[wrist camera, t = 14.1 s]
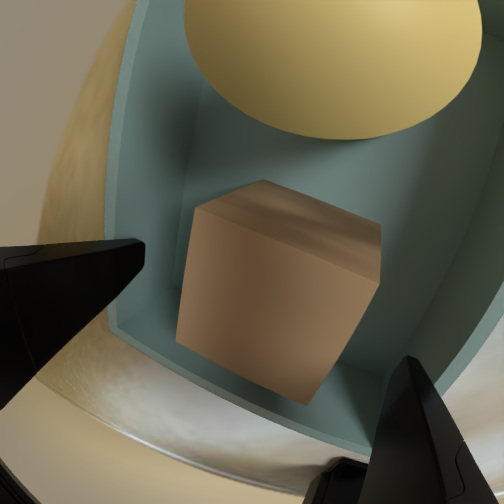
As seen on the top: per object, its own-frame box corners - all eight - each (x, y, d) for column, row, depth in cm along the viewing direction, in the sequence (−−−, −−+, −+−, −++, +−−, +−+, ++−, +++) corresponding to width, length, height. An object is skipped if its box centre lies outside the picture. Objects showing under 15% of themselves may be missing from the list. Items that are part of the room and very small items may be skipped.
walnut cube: (381, 225, 11) (379, 284, 7) (334, 324, 13) (306, 405, 9) (263, 179, 12) (195, 207, 8) (236, 280, 15) (175, 341, 10)
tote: (522, 47, 6) (578, 16, 2) (387, 380, 14) (377, 458, 10) (229, -30, 10) (165, -75, 5) (168, 285, 17) (109, 330, 13)
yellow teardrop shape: (409, 154, 10) (463, 180, 4) (278, 124, 11) (166, 118, 5) (425, 32, 8) (470, -71, 2) (296, 9, 9) (209, -91, 3)
